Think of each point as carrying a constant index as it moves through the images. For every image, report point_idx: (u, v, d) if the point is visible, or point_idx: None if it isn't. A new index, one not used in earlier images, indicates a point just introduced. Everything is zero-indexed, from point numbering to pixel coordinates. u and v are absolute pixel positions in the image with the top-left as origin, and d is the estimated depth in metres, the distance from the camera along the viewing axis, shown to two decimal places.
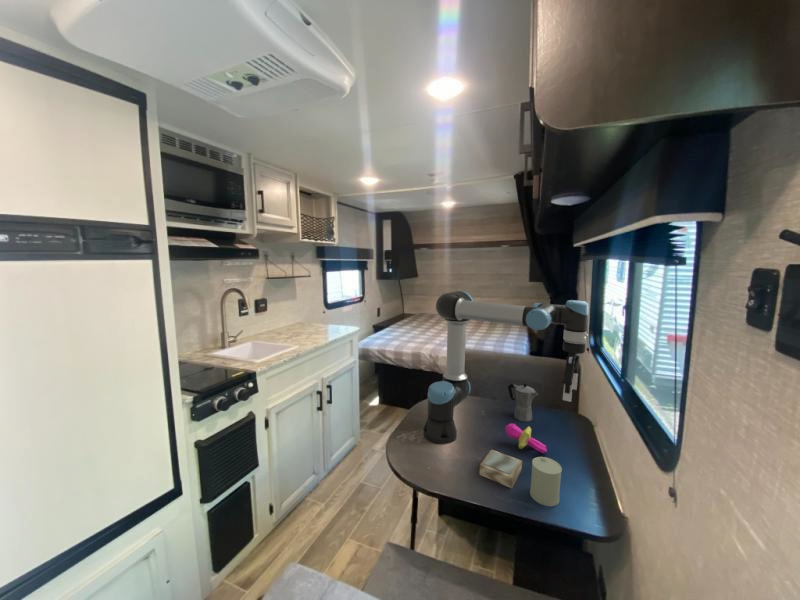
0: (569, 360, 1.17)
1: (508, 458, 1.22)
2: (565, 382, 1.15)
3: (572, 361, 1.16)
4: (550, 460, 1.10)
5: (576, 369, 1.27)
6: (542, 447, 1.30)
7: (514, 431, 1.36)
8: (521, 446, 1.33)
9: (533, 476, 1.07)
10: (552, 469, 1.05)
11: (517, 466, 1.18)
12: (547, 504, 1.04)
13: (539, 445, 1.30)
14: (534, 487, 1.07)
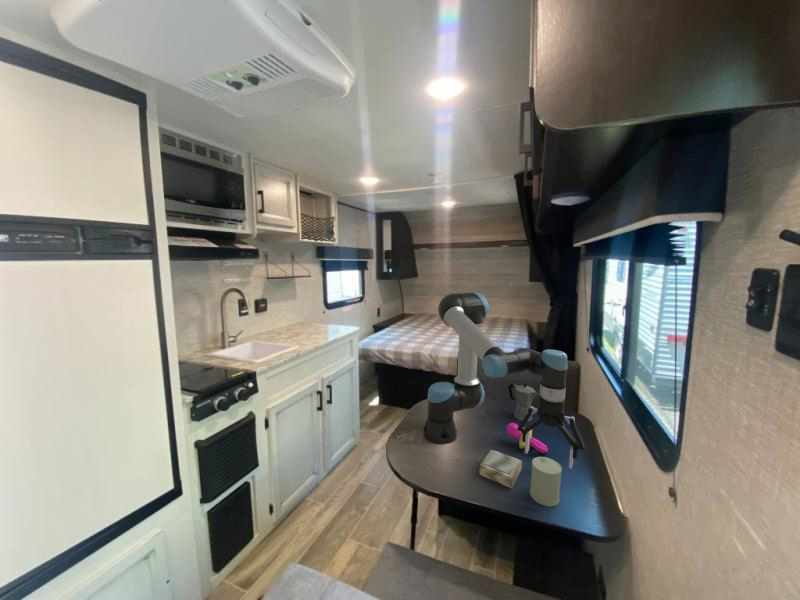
0: (529, 408, 1.09)
1: (508, 458, 1.22)
2: None
3: None
4: (550, 460, 1.10)
5: None
6: (542, 447, 1.30)
7: (515, 430, 1.37)
8: (521, 445, 1.33)
9: (533, 476, 1.07)
10: (552, 469, 1.05)
11: (517, 466, 1.18)
12: (547, 504, 1.04)
13: (539, 445, 1.30)
14: (534, 487, 1.07)
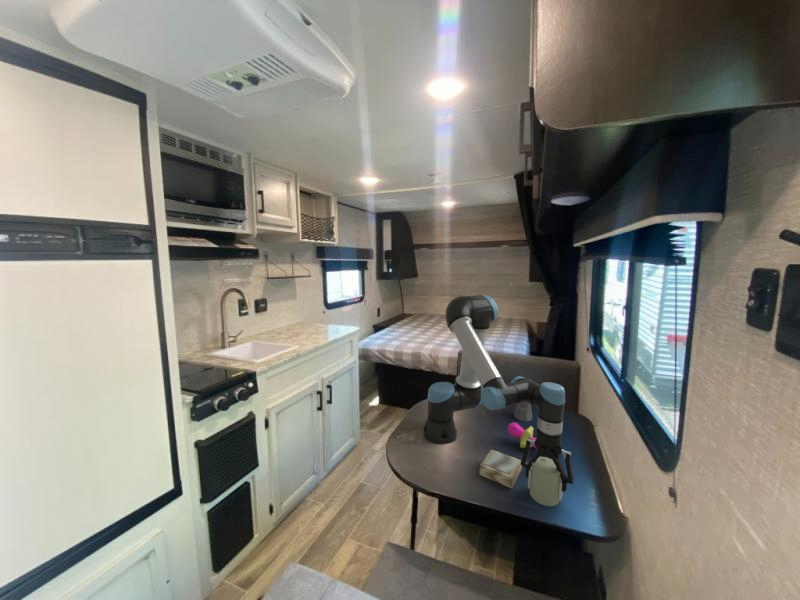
0: None
1: (508, 458, 1.22)
2: None
3: None
4: (550, 460, 1.10)
5: None
6: None
7: (516, 430, 1.37)
8: (522, 445, 1.33)
9: (533, 476, 1.07)
10: (552, 469, 1.05)
11: (517, 466, 1.18)
12: (547, 504, 1.04)
13: None
14: (534, 487, 1.07)
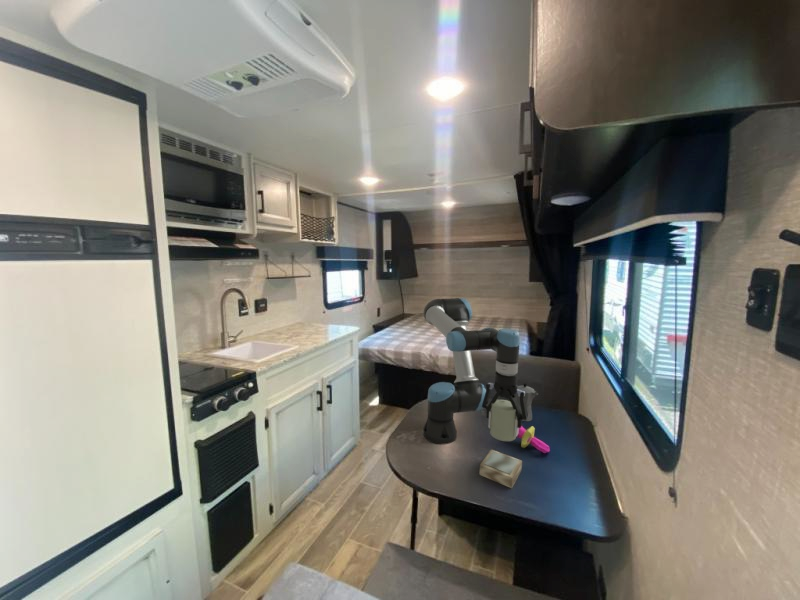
0: None
1: (508, 458, 1.22)
2: None
3: None
4: (508, 401, 1.20)
5: None
6: (544, 447, 1.30)
7: None
8: (523, 445, 1.34)
9: (492, 415, 1.17)
10: (508, 407, 1.15)
11: (517, 466, 1.18)
12: (504, 439, 1.14)
13: (541, 445, 1.30)
14: (492, 425, 1.17)
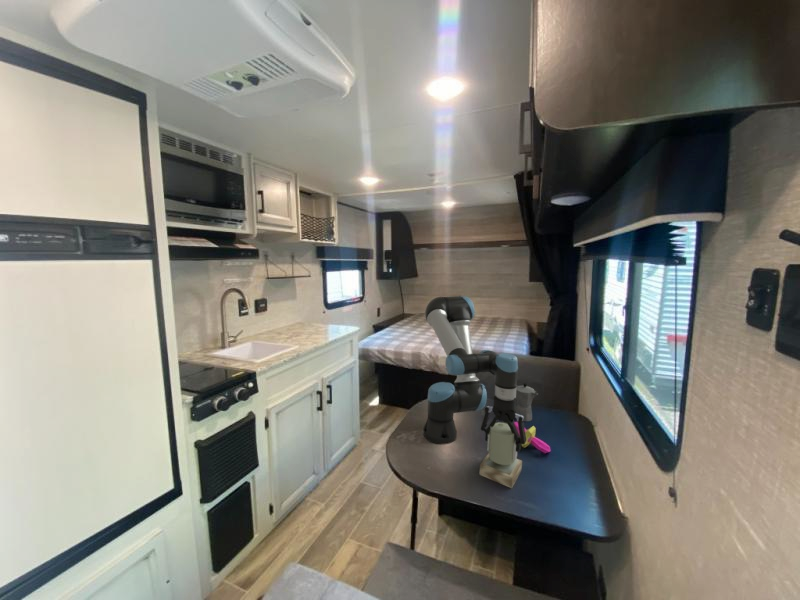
0: None
1: None
2: None
3: None
4: (507, 424, 1.21)
5: None
6: (544, 447, 1.30)
7: (518, 429, 1.38)
8: (523, 444, 1.34)
9: (491, 439, 1.18)
10: (507, 431, 1.16)
11: (517, 466, 1.18)
12: (502, 463, 1.15)
13: (541, 445, 1.30)
14: (491, 448, 1.18)
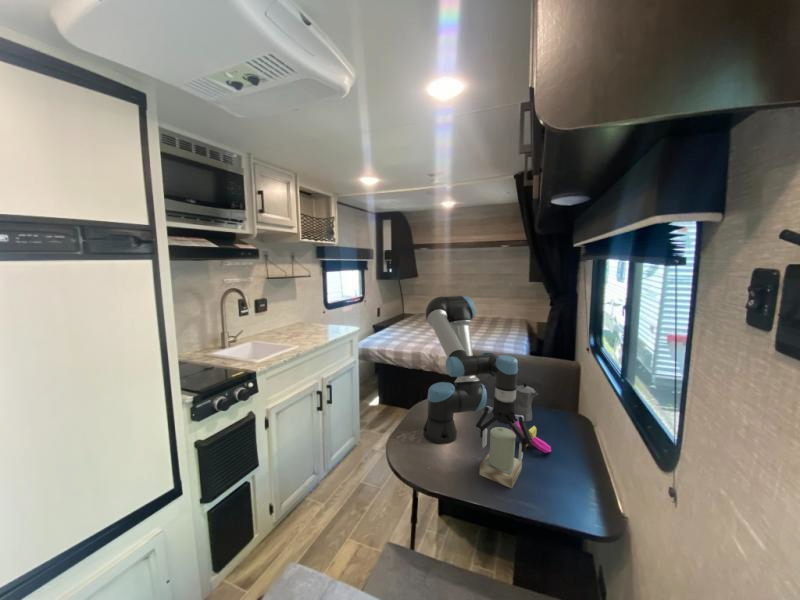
0: None
1: None
2: None
3: None
4: (507, 429, 1.21)
5: (518, 437, 1.14)
6: (544, 447, 1.30)
7: None
8: None
9: (490, 443, 1.18)
10: (507, 436, 1.16)
11: (517, 466, 1.18)
12: (502, 468, 1.15)
13: (541, 445, 1.30)
14: (491, 453, 1.18)
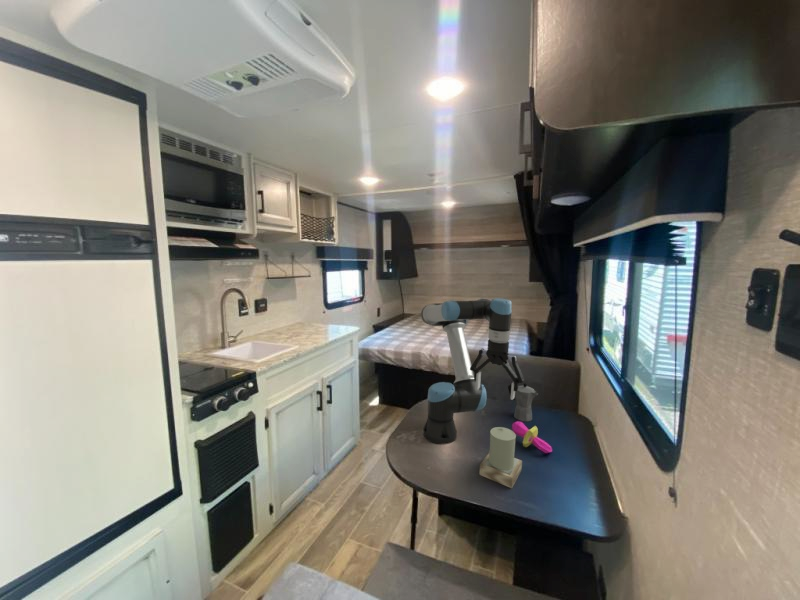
0: None
1: None
2: None
3: None
4: (507, 429, 1.21)
5: (510, 376, 1.17)
6: (545, 447, 1.30)
7: (520, 428, 1.38)
8: (524, 444, 1.34)
9: (490, 443, 1.18)
10: (507, 436, 1.16)
11: (517, 466, 1.18)
12: (502, 468, 1.15)
13: (542, 445, 1.30)
14: (491, 453, 1.18)
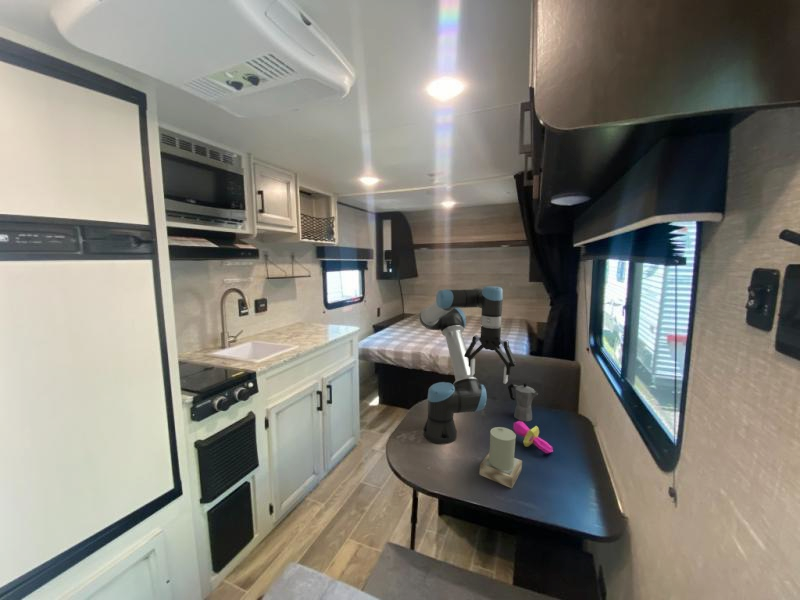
0: None
1: None
2: None
3: None
4: (507, 429, 1.21)
5: (503, 360, 1.22)
6: (545, 447, 1.30)
7: (521, 428, 1.38)
8: (525, 443, 1.35)
9: (490, 443, 1.18)
10: (507, 436, 1.16)
11: (517, 466, 1.18)
12: (502, 468, 1.15)
13: (542, 444, 1.30)
14: (491, 453, 1.18)
